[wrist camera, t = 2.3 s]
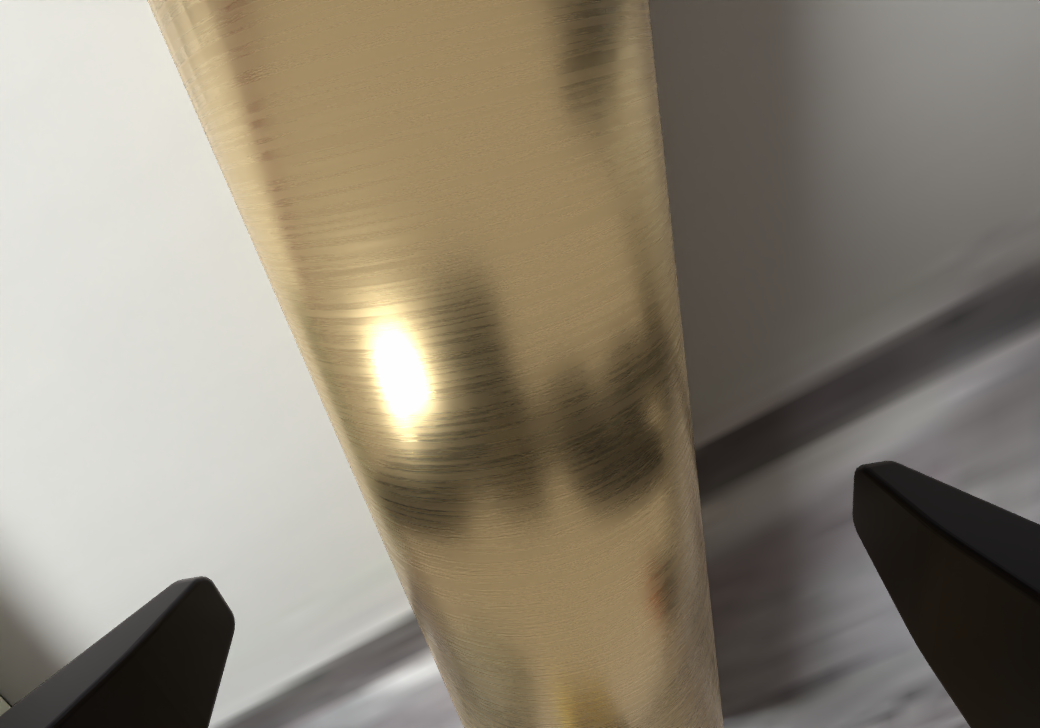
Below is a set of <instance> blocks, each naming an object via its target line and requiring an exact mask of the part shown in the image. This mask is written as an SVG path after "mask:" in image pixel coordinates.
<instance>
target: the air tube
mask: <svg viewBox="0 0 1040 728" xmlns="http://www.w3.org/2000/svg"><path fill="white" fill-rule="evenodd" d="M147 1H148V3H149V5H150V7H151V10H152V12H153V14H154V17H155V19H156V21H157V24H158V26H159V28H160V30H161V33H162V35H163V37H164V40H165V42H166V44H167V47H168V49H169V51H170V53H171V56H172V58H173V60H174V63H175V65H176V67H177V69H178V72H179V74H180V76H181V79H182V81H183V83H184V86H185V88H186V90H187V92H188V95H189V97H190V99H191V102H192V104H193V106H194V109H195V111H196V113H197V115H198V118H199V120H200V122H201V125H202V127H203V129H204V132H205V134H206V136H207V138H208V141H209V143H210V145H211V148H212V150H213V152H214V155H215V157H216V159H217V161H218V164H219V166H220V168H221V171H222V173H223V175H224V177H225V180H226V182H227V184H228V187H229V189H230V191H231V194H232V196H233V198H234V200H235V203H236V205H237V207H238V210H239V212H240V214H241V217H242V219H243V221H244V223H245V226H246V228H247V230H248V233H249V235H250V237H251V240H252V242H253V244H254V246H255V249H256V251H257V253H258V256H259V258H260V260H261V262H262V265H263V267H264V269H265V272H266V274H267V276H268V279H269V281H270V283H271V285H272V288H273V290H274V292H275V295H276V297H277V299H278V302H279V304H280V306H281V308H282V311H283V313H284V315H285V318H286V320H287V322H288V325H289V327H290V329H291V331H292V334H293V336H294V338H295V341H296V343H297V345H298V348H299V350H300V352H301V354H302V357H303V359H304V361H305V364H306V366H307V368H308V370H309V373H310V375H311V377H312V380H313V382H314V384H315V387H316V389H317V391H318V393H319V396H320V398H321V400H322V403H323V405H324V407H325V410H326V412H327V414H328V416H329V419H330V421H331V423H332V426H333V428H334V430H335V433H336V435H337V437H338V439H339V442H340V444H341V446H342V449H343V451H344V453H345V456H346V458H347V460H348V462H349V465H350V467H351V469H352V472H353V474H354V476H355V478H356V481H357V483H358V485H359V488H360V490H361V492H362V495H363V497H364V499H365V501H366V504H367V506H368V508H369V511H370V513H371V515H372V518H373V520H374V522H375V524H376V527H377V529H378V531H379V534H380V536H381V538H382V541H383V543H384V545H385V547H386V550H387V552H388V554H389V557H390V559H391V561H392V564H393V566H394V568H395V570H396V573H397V575H398V577H399V580H400V582H401V584H402V586H403V589H404V591H405V593H406V596H407V598H408V600H409V603H410V605H411V607H412V609H413V612H414V614H415V616H416V619H417V621H418V623H419V626H420V628H421V630H422V632H423V635H424V637H425V639H426V642H427V644H428V646H429V649H430V651H431V653H432V655H433V658H434V660H435V662H436V665H437V667H438V669H439V672H440V674H441V676H442V678H443V681H444V683H445V685H446V688H447V690H448V692H449V694H450V697H451V699H452V701H453V704H454V706H455V708H456V711H457V713H458V715H459V717H460V720H461V722H462V724H463V727H464V728H724V726H723V717H722V707H721V697H720V688H719V678H718V668H717V659H716V649H715V639H714V630H713V620H712V611H711V601H710V591H709V582H708V572H707V562H706V553H705V543H704V534H703V524H702V514H701V505H700V495H699V485H698V476H697V466H696V457H695V447H694V437H693V428H692V418H691V408H690V399H689V389H688V380H687V370H686V360H685V351H684V341H683V331H682V322H681V312H680V302H679V293H678V283H677V274H676V264H675V254H674V245H673V235H672V225H671V216H670V206H669V197H668V187H667V177H666V168H665V158H664V148H663V139H662V129H661V120H660V110H659V100H658V91H657V81H656V71H655V62H654V52H653V43H652V33H651V23H650V14H649V4H648V0H147Z"/></svg>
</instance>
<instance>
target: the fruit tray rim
mask: <svg viewBox="0 0 1040 728" xmlns="http://www.w3.org/2000/svg"><path fill="white" fill-rule="evenodd" d="M10 708H11V707H10V706H9V705H8V704H7V703H6V702H5V701H4V700H3V699H2V698H1V697H0V716H1V715H2V714H3V713H5V712H6V711H7V710H9V709H10Z"/></svg>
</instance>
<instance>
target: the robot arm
mask: <svg viewBox="0 0 1040 728" xmlns="http://www.w3.org/2000/svg"><path fill="white" fill-rule="evenodd" d="M852 514H853V522H854V526H855V528H856V531H857V533H858V535H859V537H860V539H861V541H862V543H863V545H864V547H865V549H866V551H867V553H868V554H869V556H870V558H871V560H872V562H873V564H874V566H875V568H876V570H877V572H878V573H879V575H880V577H881V579H882V581H883V583H884V585H885V587H886V589H887V591H888V593H889V594H890V596H891V598H892V600H893V602H894V604H895V606H896V608H897V610H898V612H899V613H900V615H901V617H902V619H903V621H904V623H905V625H906V627H907V629H908V630H909V632H910V634H911V636H912V638H913V639H914V641H915V643H916V645H917V646H918V648H919V650H920V651H921V653H922V654H923V656H924V658H925V659H926V661H927V662H928V664H929V666H930V667H931V669H932V670H933V672H934V673H935V675H936V676H937V678H938V679H939V681H940V682H941V684H942V685H943V687H944V688H945V690H946V691H947V693H948V694H949V696H950V697H951V699H952V700H953V702H954V703H955V705H956V706H957V708H958V709H959V711H960V712H961V714H962V715H963V717H964V718H965V720H966V721H967V723H968V724H969V726H970V727H971V728H1040V525H1039V524H1037V523H1035V522H1032V521H1030V520H1028V519H1025V518H1023V517H1021V516H1019V515H1016V514H1014V513H1012V512H1009V511H1007V510H1005V509H1003V508H1000V507H998V506H996V505H993V504H991V503H989V502H987V501H984V500H982V499H980V498H977V497H975V496H973V495H970V494H968V493H966V492H964V491H961V490H959V489H957V488H954V487H952V486H950V485H948V484H945V483H943V482H941V481H938V480H936V479H934V478H931V477H929V476H927V475H925V474H922V473H920V472H918V471H915V470H913V469H911V468H909V467H906V466H904V465H902V464H899V463H897V462H894V461H882V462H876V463H871V464H865V465H861V466H859V467H858V468H857V469H856V471H855V475H854V490H853V512H852ZM234 630H235V620H234V616H233V613H232V611H231V609H230V608H229V606H228V605H227V603H226V602H225V600H224V598H223V597H222V595H221V594H220V592H219V591H218V589H217V588H216V586H215V584H214V583H213V582H212V580H210V579H209V578H207V577H203V576H201V577H194V578H188V579H182V580H179V581H176V582H174V583H173V584H171V585H170V586H169V587H167V588H166V589H165V590H164V591H162V592H161V593H160V594H158V595H157V596H156V597H154V598H153V599H152V600H151V601H149V602H148V603H147V604H145V605H144V606H143V607H141V608H140V609H139V610H138V611H136V612H135V613H134V614H132V615H131V616H130V617H128V618H127V619H126V620H124V621H123V622H122V623H121V624H119V625H118V626H117V627H115V628H114V629H113V630H111V631H110V632H109V633H108V634H106V635H105V636H104V637H102V638H101V639H100V640H98V641H97V642H96V643H95V644H93V645H92V646H91V647H89V648H88V649H87V650H85V651H84V652H83V653H82V654H80V655H79V656H78V657H76V658H75V659H74V660H72V661H71V662H70V663H69V664H67V665H66V666H65V667H63V668H62V669H61V670H59V671H58V672H57V673H56V674H54V675H53V676H52V677H50V678H49V679H48V680H46V681H45V682H44V683H42V684H41V685H40V686H39V687H37V688H36V689H35V690H33V691H32V692H31V693H29V694H28V695H27V696H26V697H24V698H23V699H22V700H20V701H19V702H18V703H16V704H15V705H14V706H13V707H11V708H10V709H9V710H7V711H6V712H5V713H3V714H2V715H1V716H0V728H208V726H209V723H210V719H211V715H212V712H213V708H214V704H215V701H216V697H217V693H218V689H219V686H220V682H221V678H222V675H223V671H224V667H225V664H226V660H227V656H228V653H229V649H230V645H231V642H232V638H233V634H234Z"/></svg>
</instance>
